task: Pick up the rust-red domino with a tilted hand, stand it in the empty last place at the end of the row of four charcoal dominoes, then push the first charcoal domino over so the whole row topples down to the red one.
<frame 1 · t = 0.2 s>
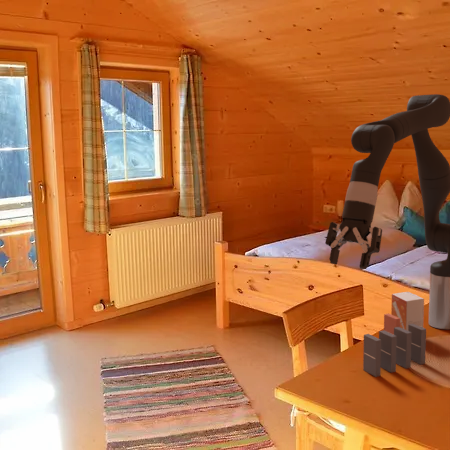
hand: (347, 266, 142), 31 cm above the table, tool tilted 20°, fingers open, 8 cm apart
domino 2: (401, 364, 158), on the table
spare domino: (391, 348, 169), on the table
domino 1: (416, 360, 160), on the table
domino 4: (371, 372, 153), on the table
domino 3: (387, 368, 156), on the table
small box: (406, 337, 178), on the table
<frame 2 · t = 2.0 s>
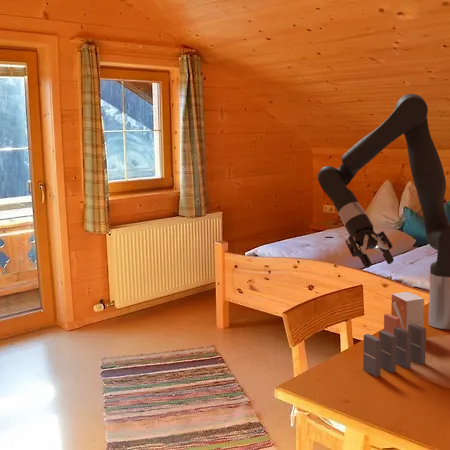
hand: (380, 264, 169), 24 cm above the table, tool tilted 45°, fingers open, 8 cm apart
nothing on the table moved.
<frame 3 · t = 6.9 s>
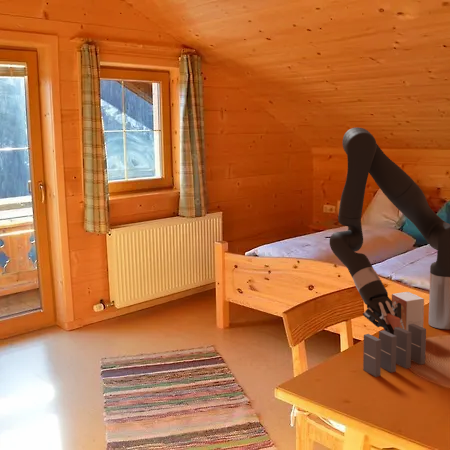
hand: (396, 336, 166), 4 cm above the table, tool tilted 45°, fingers closed on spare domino, 1 cm apart
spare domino: (391, 348, 169), on the table, touching gripper
everything else where it was.
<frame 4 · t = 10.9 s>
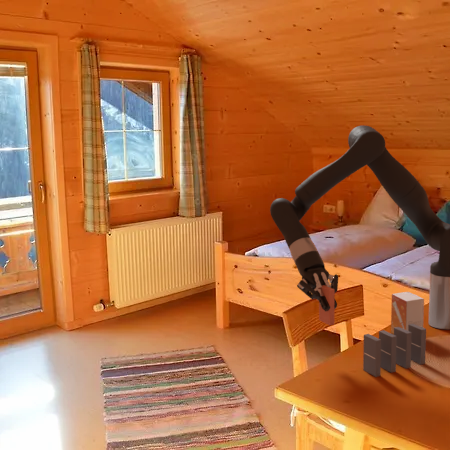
hand: (331, 309, 158), 15 cm above the table, tool tilted 45°, fingers closed on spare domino, 1 cm apart
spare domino: (326, 322, 161), point 11 cm above the table, touching gripper
everything else where it was.
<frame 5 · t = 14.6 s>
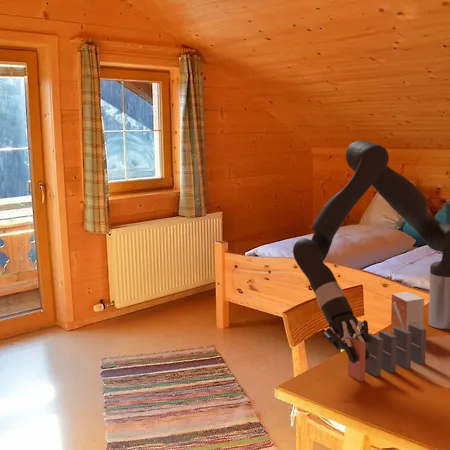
hand: (361, 360, 148), 5 cm above the table, tool tilted 45°, fingers open, 3 cm apart
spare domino: (356, 377, 151), on the table
domino 4: (371, 372, 153), on the table, tilted 5°, touching hand
everything else where it was.
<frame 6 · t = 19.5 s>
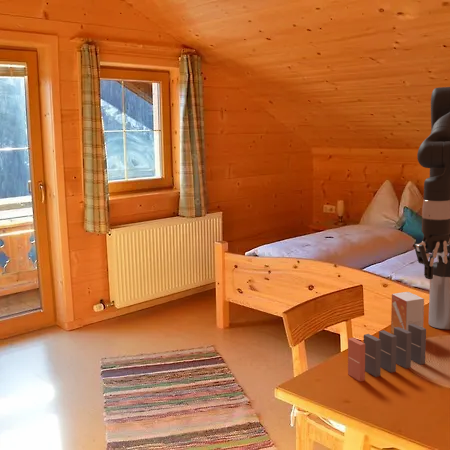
hand: (434, 277, 158), 23 cm above the table, tool pointing down, fingers open, 3 cm apart
domino 4: (371, 372, 153), on the table
everything else where it was.
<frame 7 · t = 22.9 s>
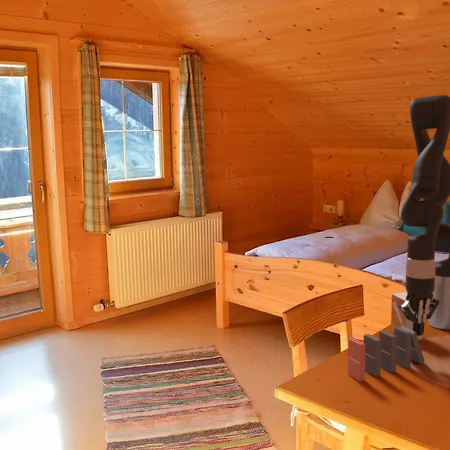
hand: (418, 334, 159), 8 cm above the table, tool pointing down, fingers closed
domino 2: (401, 364, 158), on the table, touching domino 1
domino 1: (416, 359, 160), on the table, tilted 21°, touching domino 2
everything else where it was.
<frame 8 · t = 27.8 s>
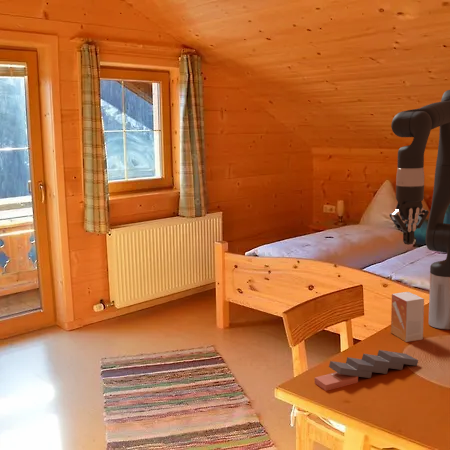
hand: (408, 243, 165), 31 cm above the table, tool pointing down, fingers closed
domino 2: (396, 363, 157), point 1 cm above the table, tilted 72°, touching domino 1
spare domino: (352, 376, 150), point 1 cm above the table, tilted 90°
domino 1: (411, 359, 159), point 1 cm above the table, tilted 72°, touching domino 2
domino 4: (365, 371, 152), point 1 cm above the table, tilted 72°, touching domino 3
domino 3: (381, 367, 155), point 1 cm above the table, tilted 72°, touching domino 4
everything else where it was.
at the end: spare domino tilted 90°; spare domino inside the target area (1.3 cm from its centre), point 0.6 cm above the table; domino 1 tilted 72° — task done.
